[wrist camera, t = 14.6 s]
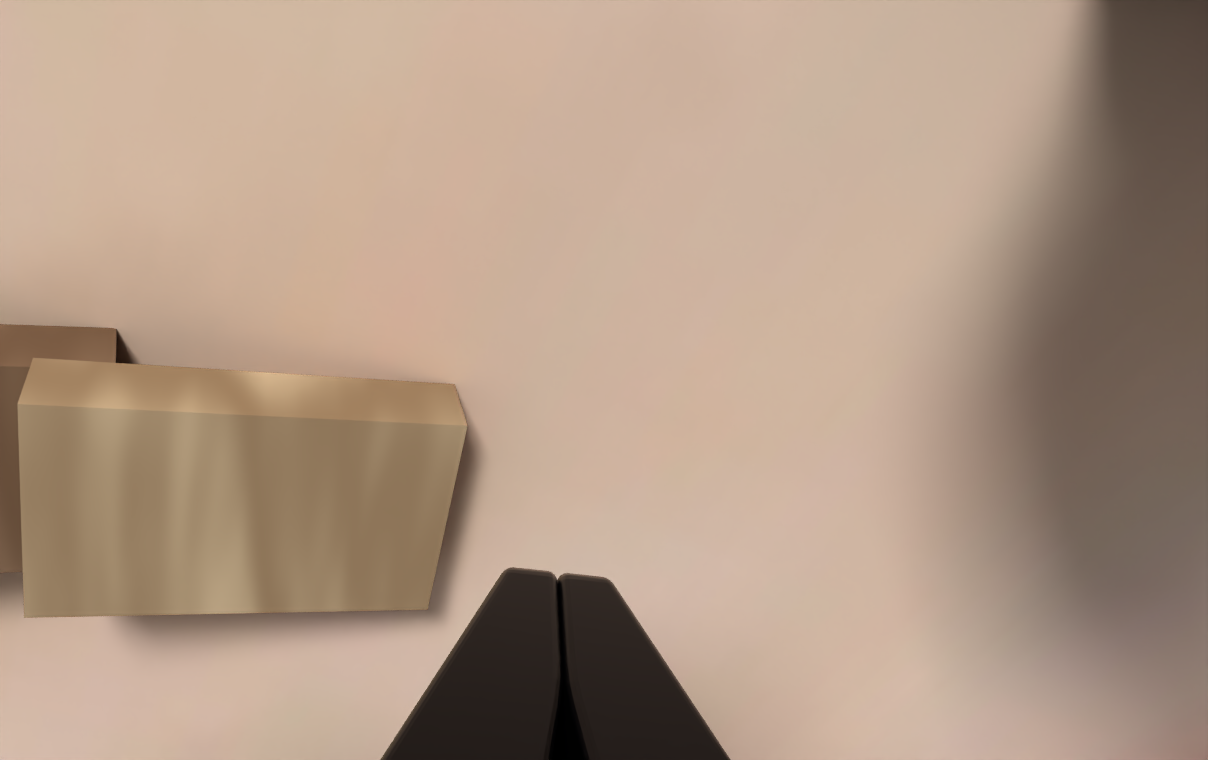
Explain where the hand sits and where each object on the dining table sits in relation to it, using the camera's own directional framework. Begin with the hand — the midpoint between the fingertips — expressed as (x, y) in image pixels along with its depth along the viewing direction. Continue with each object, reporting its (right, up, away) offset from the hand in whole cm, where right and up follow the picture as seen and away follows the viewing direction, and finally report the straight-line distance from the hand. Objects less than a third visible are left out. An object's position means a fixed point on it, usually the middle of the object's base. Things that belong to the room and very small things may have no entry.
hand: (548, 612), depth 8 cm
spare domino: (-3, -1, +14) cm, 15 cm away
